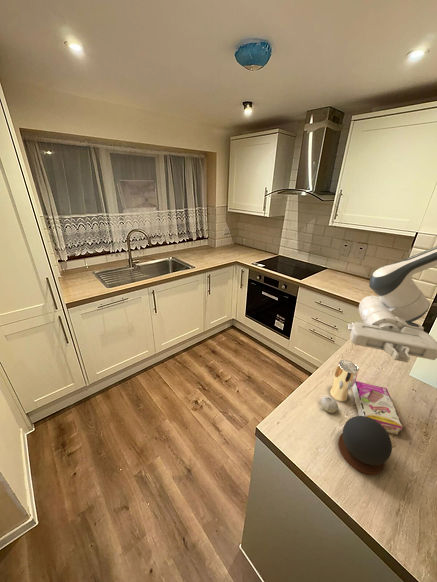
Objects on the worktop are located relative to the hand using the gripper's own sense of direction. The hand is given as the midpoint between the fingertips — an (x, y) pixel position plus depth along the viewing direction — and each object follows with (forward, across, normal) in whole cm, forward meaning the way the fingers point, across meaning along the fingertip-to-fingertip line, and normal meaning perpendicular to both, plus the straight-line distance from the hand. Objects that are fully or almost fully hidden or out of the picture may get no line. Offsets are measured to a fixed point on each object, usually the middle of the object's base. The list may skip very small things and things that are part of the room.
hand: (402, 359), depth 57 cm
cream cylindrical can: (-18, -4, +35) cm, 40 cm away
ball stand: (+3, -1, +35) cm, 35 cm away
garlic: (-11, -8, +35) cm, 38 cm away
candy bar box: (-24, +7, +32) cm, 41 cm away
